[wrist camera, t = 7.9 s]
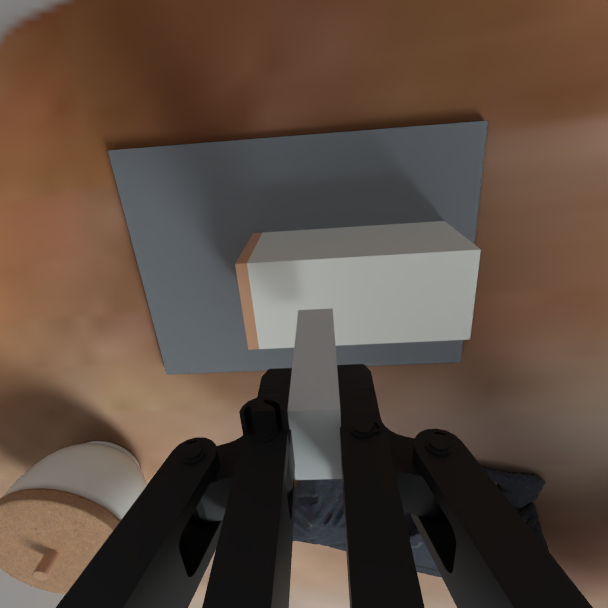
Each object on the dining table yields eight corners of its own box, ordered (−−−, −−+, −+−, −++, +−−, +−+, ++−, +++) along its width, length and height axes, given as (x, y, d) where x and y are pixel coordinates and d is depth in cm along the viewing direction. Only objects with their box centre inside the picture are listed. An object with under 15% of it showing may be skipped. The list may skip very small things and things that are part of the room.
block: (262, 304, 27) (438, 294, 26) (248, 349, 22) (470, 339, 21) (253, 233, 25) (444, 220, 24) (235, 264, 20) (480, 249, 19)
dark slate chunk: (313, 418, 33) (312, 463, 28) (556, 472, 34) (590, 522, 30) (274, 533, 39) (269, 584, 35) (480, 574, 41) (500, 628, 36)
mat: (458, 357, 29) (460, 362, 29) (169, 369, 30) (166, 374, 30) (483, 120, 22) (488, 120, 22) (112, 149, 24) (107, 150, 23)
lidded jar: (156, 421, 33) (99, 526, 24) (174, 508, 37) (131, 623, 29) (31, 417, 33) (-69, 520, 25) (63, 505, 38) (-11, 617, 29)
